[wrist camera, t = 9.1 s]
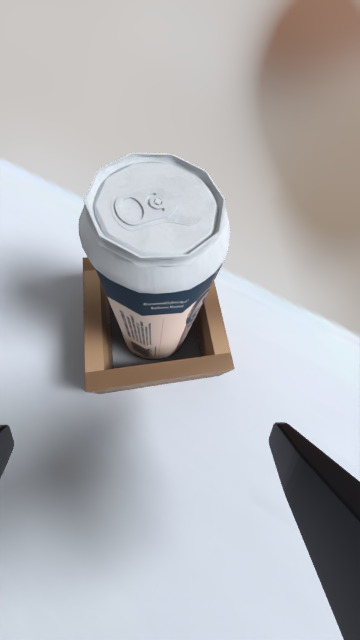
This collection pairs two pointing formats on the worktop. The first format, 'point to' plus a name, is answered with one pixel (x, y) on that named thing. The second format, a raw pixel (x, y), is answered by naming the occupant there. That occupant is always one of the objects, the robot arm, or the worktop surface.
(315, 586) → the worktop surface
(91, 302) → the socket block
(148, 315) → the beer can
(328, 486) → the robot arm
